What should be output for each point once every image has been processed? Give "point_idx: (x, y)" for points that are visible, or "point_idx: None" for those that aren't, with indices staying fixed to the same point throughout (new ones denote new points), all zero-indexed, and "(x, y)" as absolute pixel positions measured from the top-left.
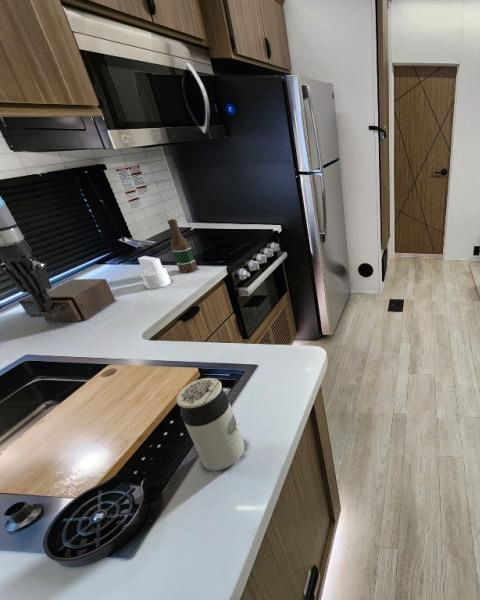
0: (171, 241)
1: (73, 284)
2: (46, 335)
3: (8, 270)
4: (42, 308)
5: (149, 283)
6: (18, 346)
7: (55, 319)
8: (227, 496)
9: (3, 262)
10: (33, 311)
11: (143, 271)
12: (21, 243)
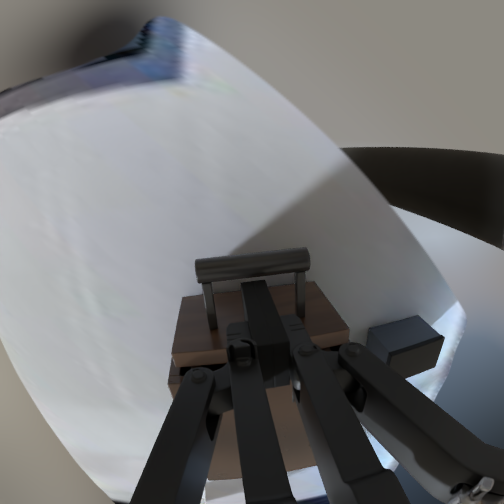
0: None
1: (293, 448)
2: (232, 201)
3: (463, 477)
4: (259, 290)
5: None
6: (268, 124)
7: (274, 290)
8: None
9: None
10: (403, 324)
11: (203, 500)
12: None
